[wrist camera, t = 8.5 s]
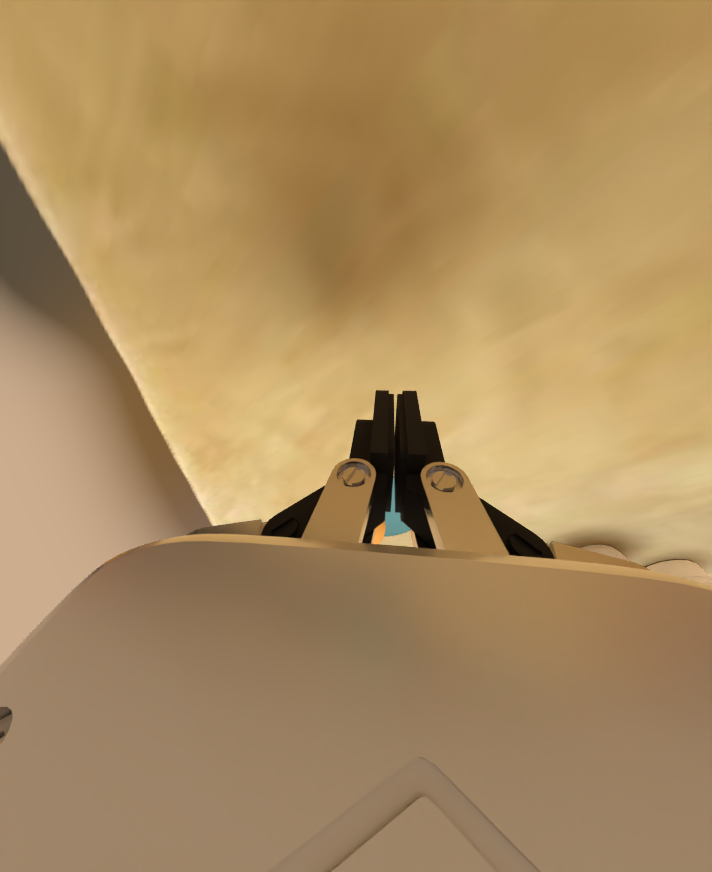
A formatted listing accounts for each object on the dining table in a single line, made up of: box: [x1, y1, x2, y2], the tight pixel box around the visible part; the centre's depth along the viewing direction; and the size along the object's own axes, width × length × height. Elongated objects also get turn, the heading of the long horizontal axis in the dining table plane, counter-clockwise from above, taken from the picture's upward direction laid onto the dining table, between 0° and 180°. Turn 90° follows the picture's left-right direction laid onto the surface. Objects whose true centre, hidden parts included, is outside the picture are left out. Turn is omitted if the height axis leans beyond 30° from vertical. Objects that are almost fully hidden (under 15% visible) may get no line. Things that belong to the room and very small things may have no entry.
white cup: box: [646, 560, 712, 586], centre depth 33 cm, size 8×8×10 cm
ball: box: [373, 521, 386, 544], centre depth 32 cm, size 6×6×6 cm
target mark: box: [384, 477, 411, 536], centre depth 34 cm, size 13×13×1 cm
